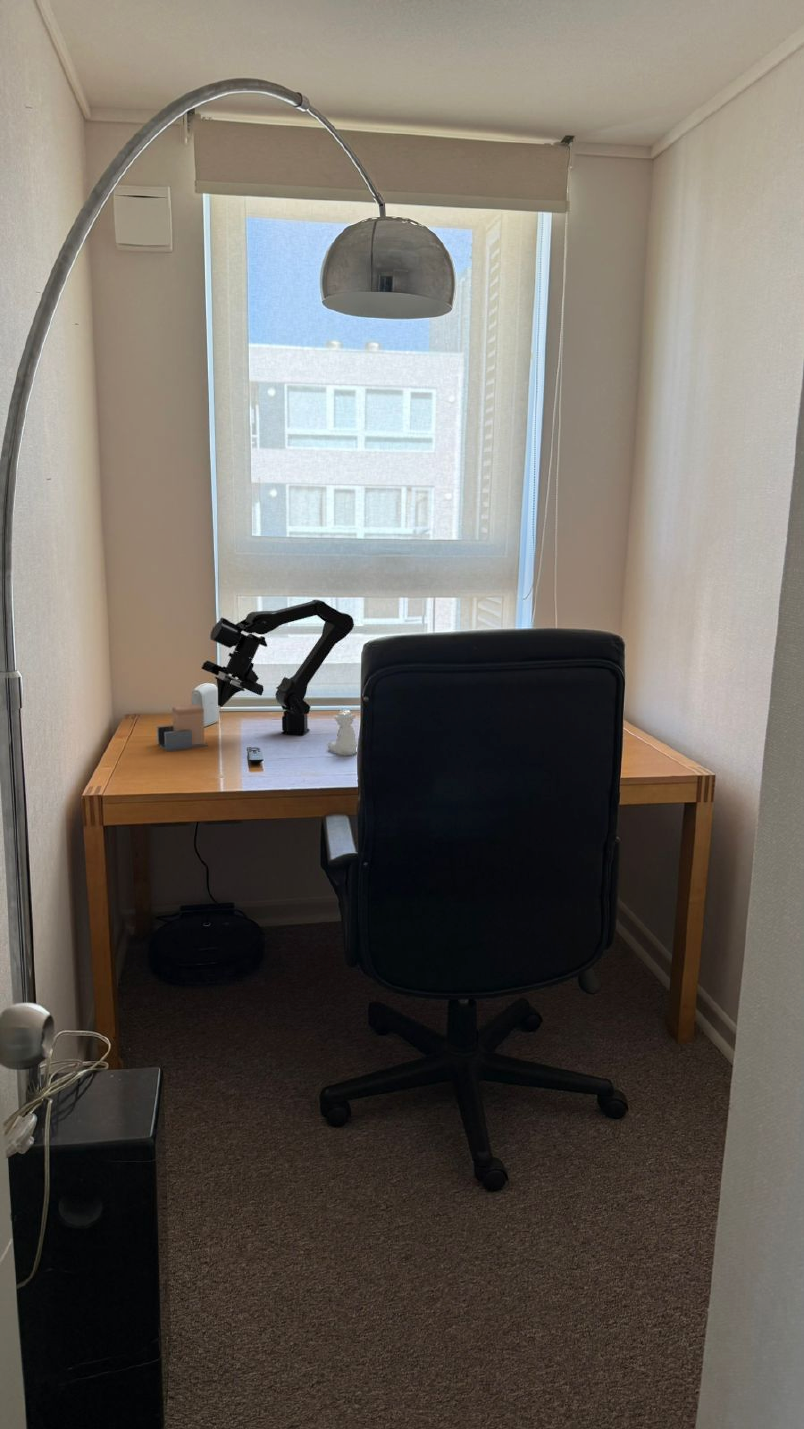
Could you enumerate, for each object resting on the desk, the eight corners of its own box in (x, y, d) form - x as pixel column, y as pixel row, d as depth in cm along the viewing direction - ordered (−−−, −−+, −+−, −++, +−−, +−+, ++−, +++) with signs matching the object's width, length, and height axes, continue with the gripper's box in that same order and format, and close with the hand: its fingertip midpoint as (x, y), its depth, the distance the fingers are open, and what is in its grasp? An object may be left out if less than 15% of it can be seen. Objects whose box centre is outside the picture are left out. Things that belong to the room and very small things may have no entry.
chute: (198, 739, 267) (198, 722, 266) (208, 746, 260) (207, 728, 259) (157, 744, 262) (157, 726, 261) (166, 751, 255) (165, 733, 254)
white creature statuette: (362, 748, 261) (362, 705, 258) (365, 756, 252) (366, 712, 250) (327, 749, 259) (327, 706, 257) (330, 757, 251) (329, 713, 248)
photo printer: (203, 728, 280) (201, 687, 277) (190, 727, 282) (188, 686, 279) (221, 721, 290) (220, 681, 287) (208, 720, 291) (207, 680, 288)
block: (199, 739, 266) (197, 704, 263) (204, 743, 261) (203, 707, 259) (173, 742, 262) (172, 706, 260) (179, 746, 258) (177, 710, 256)
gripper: (284, 673, 267) (260, 724, 267) (234, 651, 276) (212, 700, 275) (262, 663, 257) (238, 716, 257) (212, 640, 266) (188, 691, 266)
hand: (219, 706), depth 264 cm, fingers closed
